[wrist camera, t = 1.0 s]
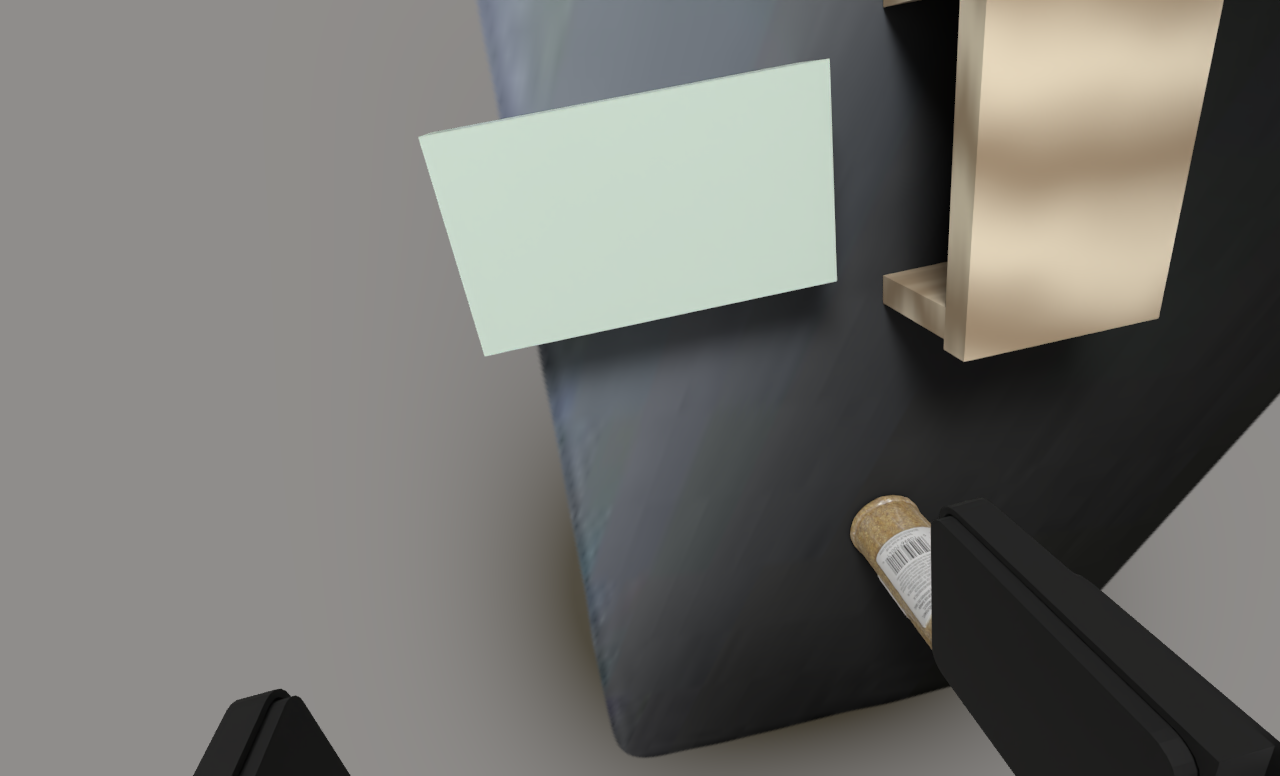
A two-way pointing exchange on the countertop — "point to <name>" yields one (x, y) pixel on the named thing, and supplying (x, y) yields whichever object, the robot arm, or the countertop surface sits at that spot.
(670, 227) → the mint green block
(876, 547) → the sprinkles bottle
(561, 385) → the countertop surface
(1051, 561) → the robot arm
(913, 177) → the countertop surface
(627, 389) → the countertop surface
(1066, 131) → the birch shelf
